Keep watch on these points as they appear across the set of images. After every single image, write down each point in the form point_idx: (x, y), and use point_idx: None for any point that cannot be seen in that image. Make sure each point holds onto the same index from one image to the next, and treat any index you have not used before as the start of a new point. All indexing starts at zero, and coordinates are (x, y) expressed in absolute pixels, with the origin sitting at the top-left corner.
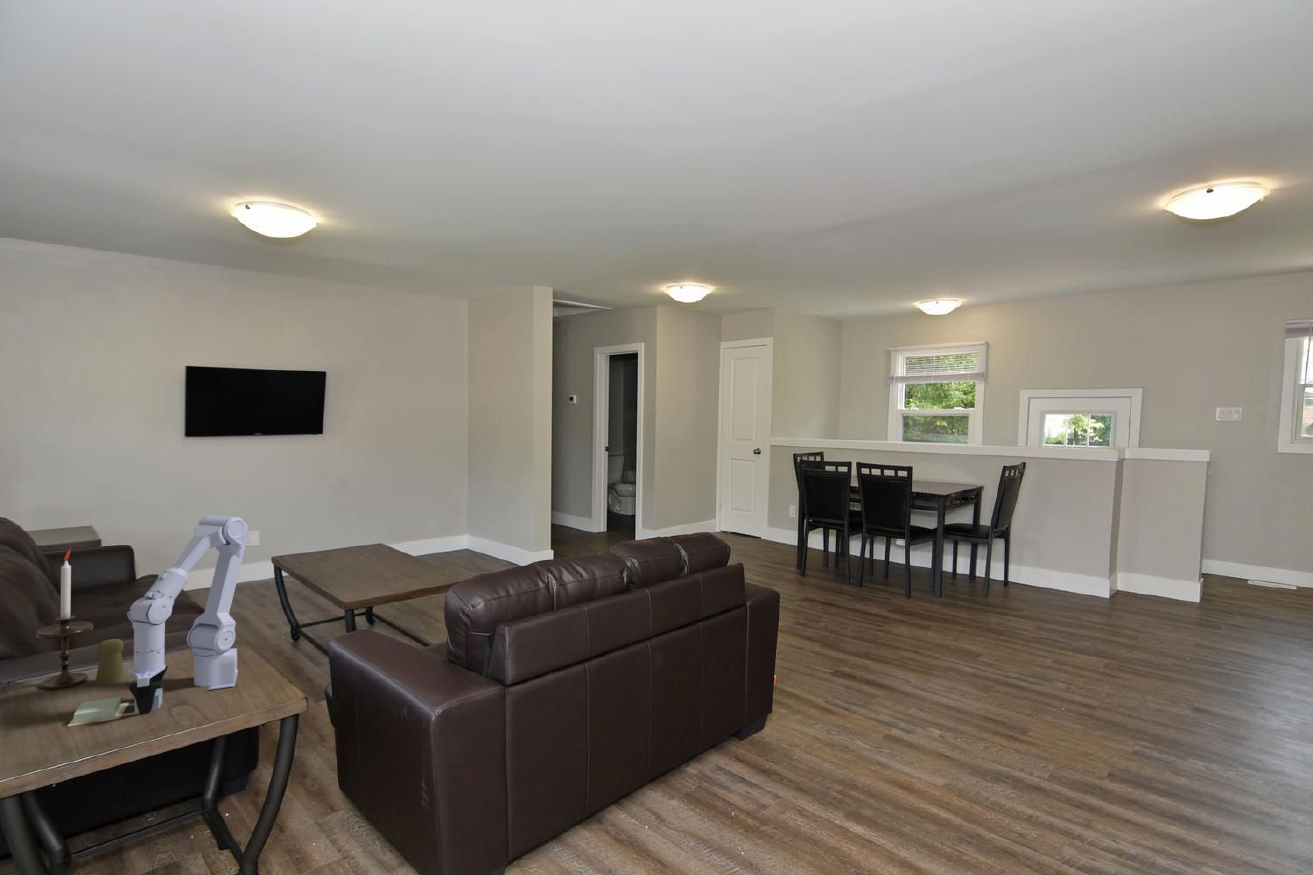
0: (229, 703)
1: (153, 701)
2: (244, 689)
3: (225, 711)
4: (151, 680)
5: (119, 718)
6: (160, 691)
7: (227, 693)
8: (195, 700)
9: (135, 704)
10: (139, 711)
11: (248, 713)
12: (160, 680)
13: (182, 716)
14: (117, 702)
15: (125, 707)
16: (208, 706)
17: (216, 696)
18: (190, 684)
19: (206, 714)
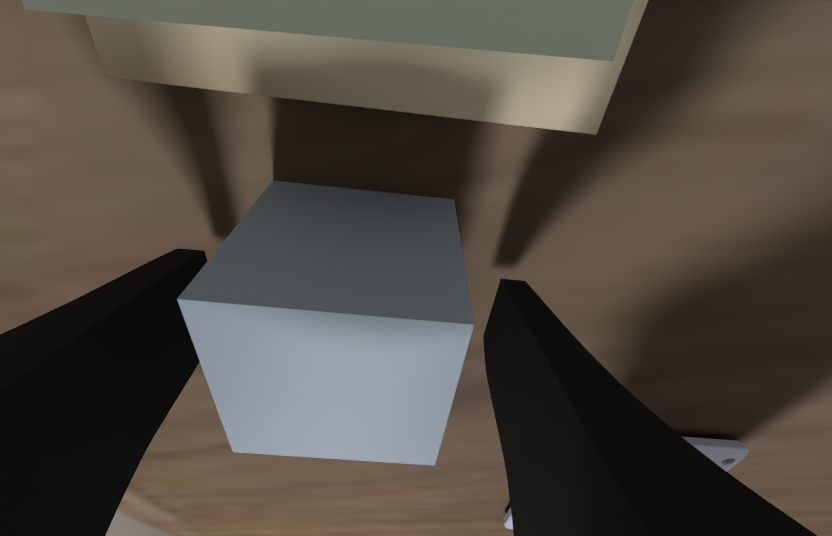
0: (306, 501)
1: (175, 394)
2: (445, 528)
3: (216, 492)
4: (547, 512)
5: (109, 73)
6: (342, 456)
7: (436, 501)
8: None
9: (216, 255)
10: (162, 259)
11: (174, 524)
12: (517, 532)
13: (199, 398)
14: (325, 35)
15: (437, 111)
16: (303, 462)
17: (423, 481)
18: (721, 424)
19: (199, 456)
